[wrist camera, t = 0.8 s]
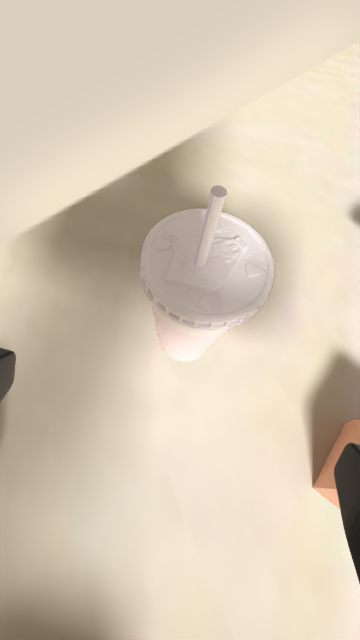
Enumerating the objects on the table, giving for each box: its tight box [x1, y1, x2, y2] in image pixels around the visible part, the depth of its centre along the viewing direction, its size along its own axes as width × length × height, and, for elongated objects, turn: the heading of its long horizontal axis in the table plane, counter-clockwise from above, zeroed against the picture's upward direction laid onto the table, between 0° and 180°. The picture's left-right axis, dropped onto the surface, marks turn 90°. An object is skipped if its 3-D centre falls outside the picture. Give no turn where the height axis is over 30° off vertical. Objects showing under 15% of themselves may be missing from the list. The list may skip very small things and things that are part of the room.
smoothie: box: [139, 186, 274, 361], centre depth 18 cm, size 6×6×14 cm
